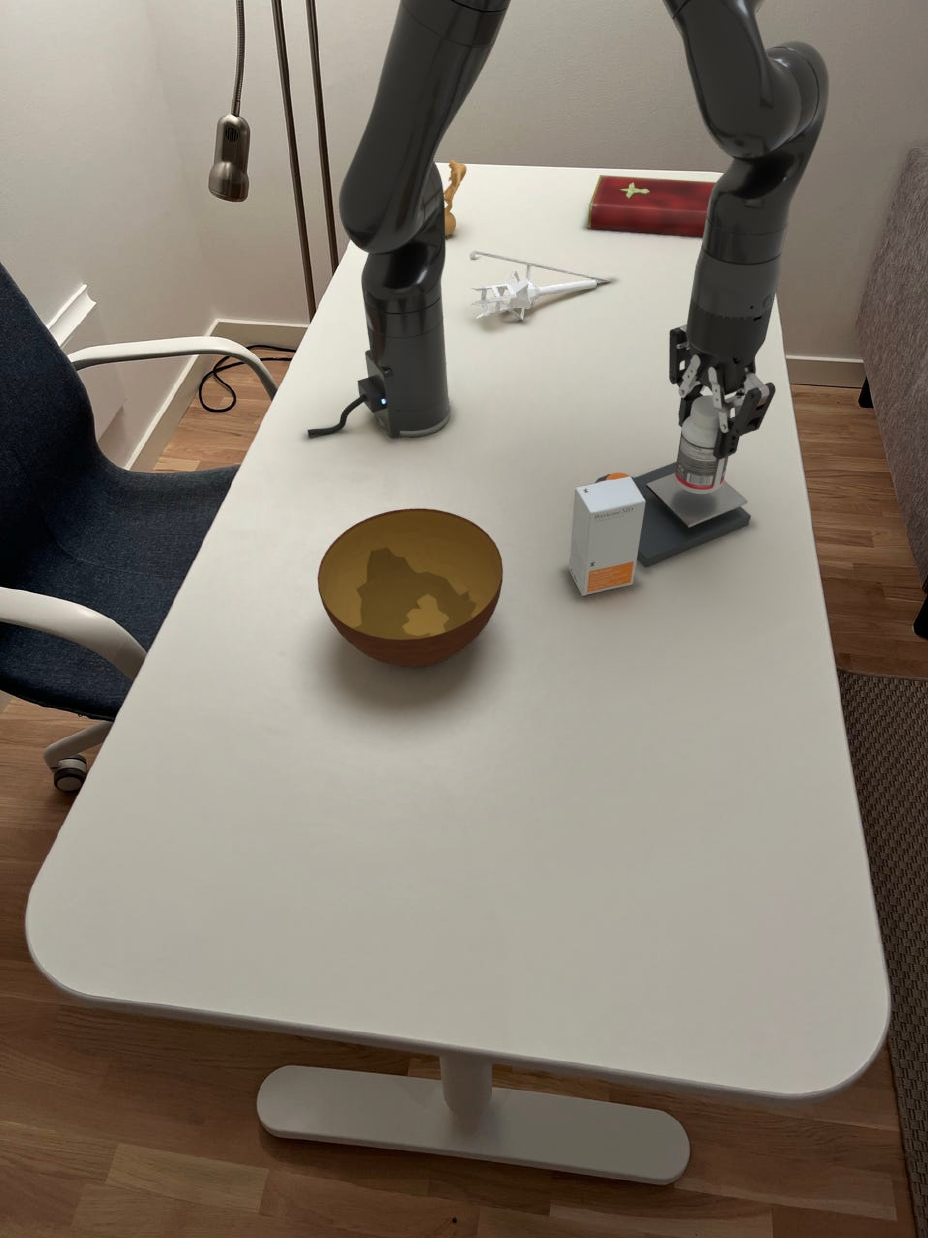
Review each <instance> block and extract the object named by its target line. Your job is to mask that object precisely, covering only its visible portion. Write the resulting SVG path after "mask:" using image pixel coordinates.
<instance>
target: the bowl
mask: <svg viewBox="0 0 928 1238" xmlns="http://www.w3.org/2000/svg"><path fill="white" fill-rule="evenodd" d="M319 563H320V564H319V568H318V572H317V588H318V594H319V596H320V600H321V604H322V607H323V608H324V611H325V612H326V615H327V616H328V618H329V620H330V622H331V623H332V624H333V626H334V627H335V629H336V630H337V631H338V633H339V634H340V635H341V636H342V637H343V638H344V639H345V640H346V641H347V642H348V643H349V644H350V645H352V646H353V647H355V648H356V649H357V650H358V651H360V652H361V653H363V654H364V655H366V656H368V657H370V658H372V659H374V660H376V661H378V662H381V663H383V664H387V665H391V666H395V667H402V668H415V667H416V668H417V667H426V666H430V665H431V666H432V665H435V664H438V663H441V662H443V661H446V660H448V659H450V658H452V657H454V656H455V655H457V654H459V653H460V652H462V651H463V650H464V649H466V648H467V647H468V646H470V644H472V642H474V641H475V640H476V639H477V638H478V636H479V635H480V634H481V633H482V631H483V630H484V629H485V628H486V626H487V625H488V623H489V621H490V620H491V619H492V617H493V615H494V612H495V610H496V607H497V605H498V603H499V599H500V596H501V593H502V592H501V591H502V585H503V579H504V577H503V576H504V566H503V558H502V556H501V553H500V550H499V548H498V547H497V544H496V543H495V541H494V540H493V538H492V537H491V536H490V534H488V532H486V531H485V530H484V529H483V528H482V527H480V526H479V525H477V523H476V522H475V523H474V521H472V520H469V519H467V518H465V517H463V516H461V515H459V514H455V513H453V512H449V511H444V510H441V509H434V508H426V507H425V508H424V507H423V508H421V507H418V508H416V507H415V508H403V509H401V508H400V509H394V510H389V511H385V512H382V513H378V514H375V515H372V516H369V517H367V518H365V519H363V520H360V521H358V522H357V523H355V524H354V525H351V526H350V527H349V528H348V529H346V530H345V531H344V532H343V533H341V534H340V535H339V536H338V537H337V538H335V540H334V541H333V542H332V543H331V544H330V545H329V547H328V548H327V550H326V551H325V553H324V555H323V556H322V558H321V560H320V562H319Z"/></svg>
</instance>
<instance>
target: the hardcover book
mask: <svg viewBox="0 0 928 1238" xmlns="http://www.w3.org/2000/svg"><path fill="white" fill-rule="evenodd" d="M716 182H717V181H704V180H688V179H687V180H686V179H673V178H669V179H668V178H657V177H656V178H655V177H640V176H639V177H638V176H623V175H608V174H607V175H604V174H600V175H599V176H598V180H597V182H596V186H595V188H594V191H593V193H592V196H591V199H590V202H589V204H588V216H587V217H588V218H587V229H590V230H604V231H616V232H630V233H644V234H645V233H646V234H658V235H670V236H687V237H699V238H703V233H704V227H705V220H706V214H707V208H708V203H709V199H710V195H711V192H712V189H713V187H714V185H715V183H716Z"/></svg>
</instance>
